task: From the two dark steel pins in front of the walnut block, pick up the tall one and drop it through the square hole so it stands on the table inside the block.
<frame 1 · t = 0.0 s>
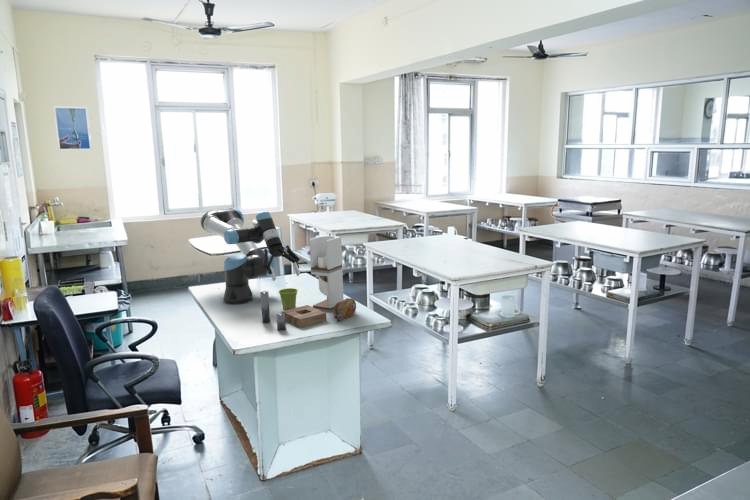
hand: (286, 277, 261), 15 cm above the table, tool tilted 35°, fingers open, 13 cm apart
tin: (345, 318, 245), on the table
hole block: (304, 320, 243), on the table
tall pin: (266, 321, 242), on the table
short pin: (281, 329, 231), on the table
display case: (328, 308, 261), on the table
plant pot: (289, 308, 263), on the table
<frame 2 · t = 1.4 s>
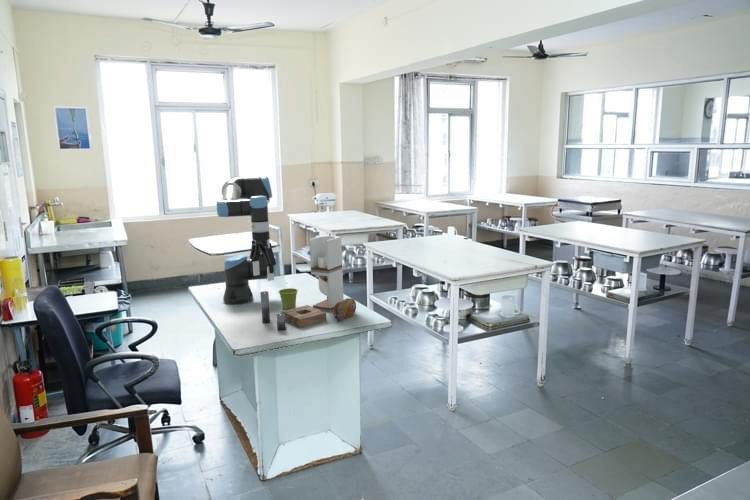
hand: (263, 277, 238), 21 cm above the table, tool pointing down, fingers open, 13 cm apart
nothing on the table moved.
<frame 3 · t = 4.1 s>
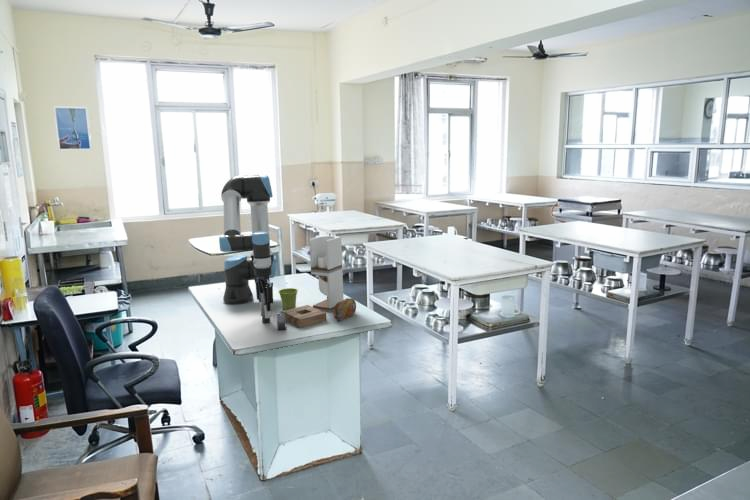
hand: (265, 316, 241), 3 cm above the table, tool pointing down, fingers closed on tall pin, 4 cm apart
tall pin: (266, 321, 242), on the table, touching gripper
everything else where it was.
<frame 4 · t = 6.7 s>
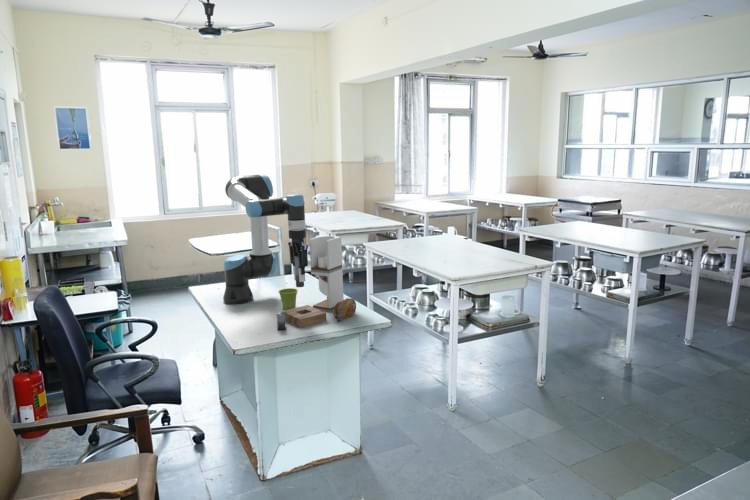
hand: (299, 280, 239), 19 cm above the table, tool pointing down, fingers closed on tall pin, 4 cm apart
tall pin: (300, 286, 239), point 16 cm above the table, touching gripper
everything else where it was.
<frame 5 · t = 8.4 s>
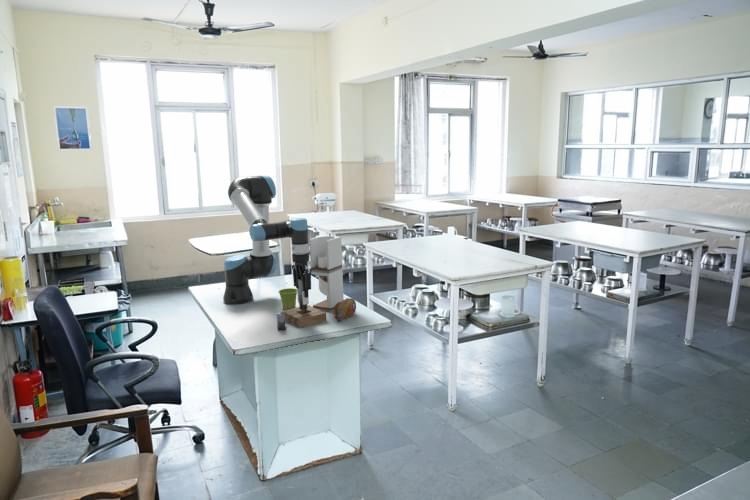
hand: (303, 303, 241), 8 cm above the table, tool pointing down, fingers closed on tall pin, 4 cm apart
tall pin: (303, 308, 241), point 6 cm above the table, touching gripper
everything else where it was.
when the fingers open (6 cm above the table, at t = 9.4 s): tall pin drops 3 cm, resting in hole block.
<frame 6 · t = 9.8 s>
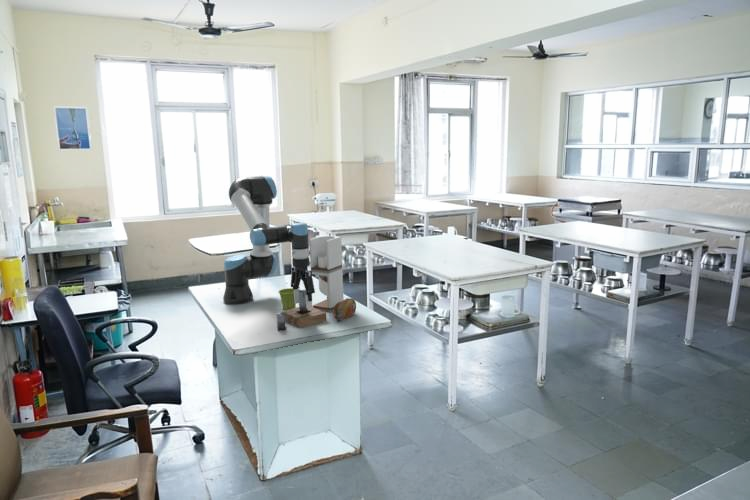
hand: (303, 305, 241), 7 cm above the table, tool pointing down, fingers open, 9 cm apart
tall pin: (304, 320, 243), resting in hole block
everything else where it was.
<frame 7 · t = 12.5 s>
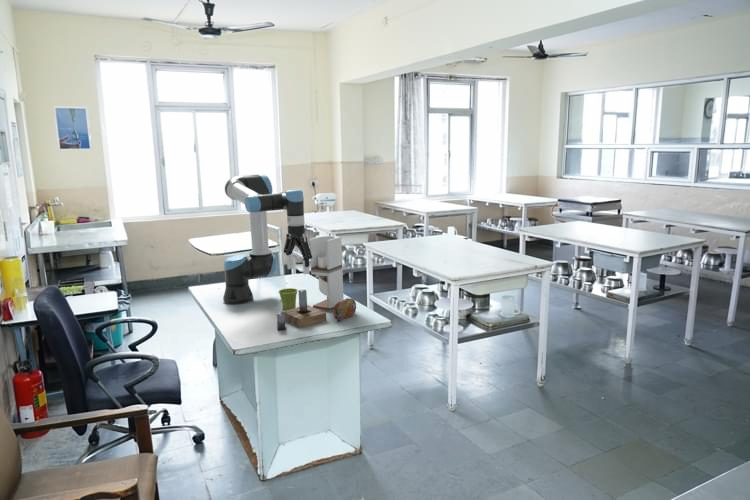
hand: (298, 271, 239), 23 cm above the table, tool pointing down, fingers open, 13 cm apart
nothing on the table moved.
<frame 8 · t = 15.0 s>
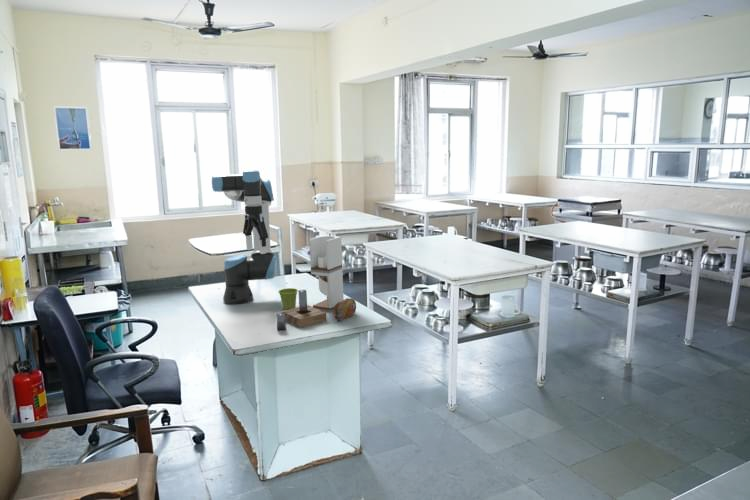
hand: (256, 251, 241), 32 cm above the table, tool pointing down, fingers open, 13 cm apart
nothing on the table moved.
at the end: tall pin 0.1 cm off-centre on the hole block, point 0.0 cm above the hole block's base; tall pin tilted 0°; short pin moved 0.0 cm from its start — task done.
